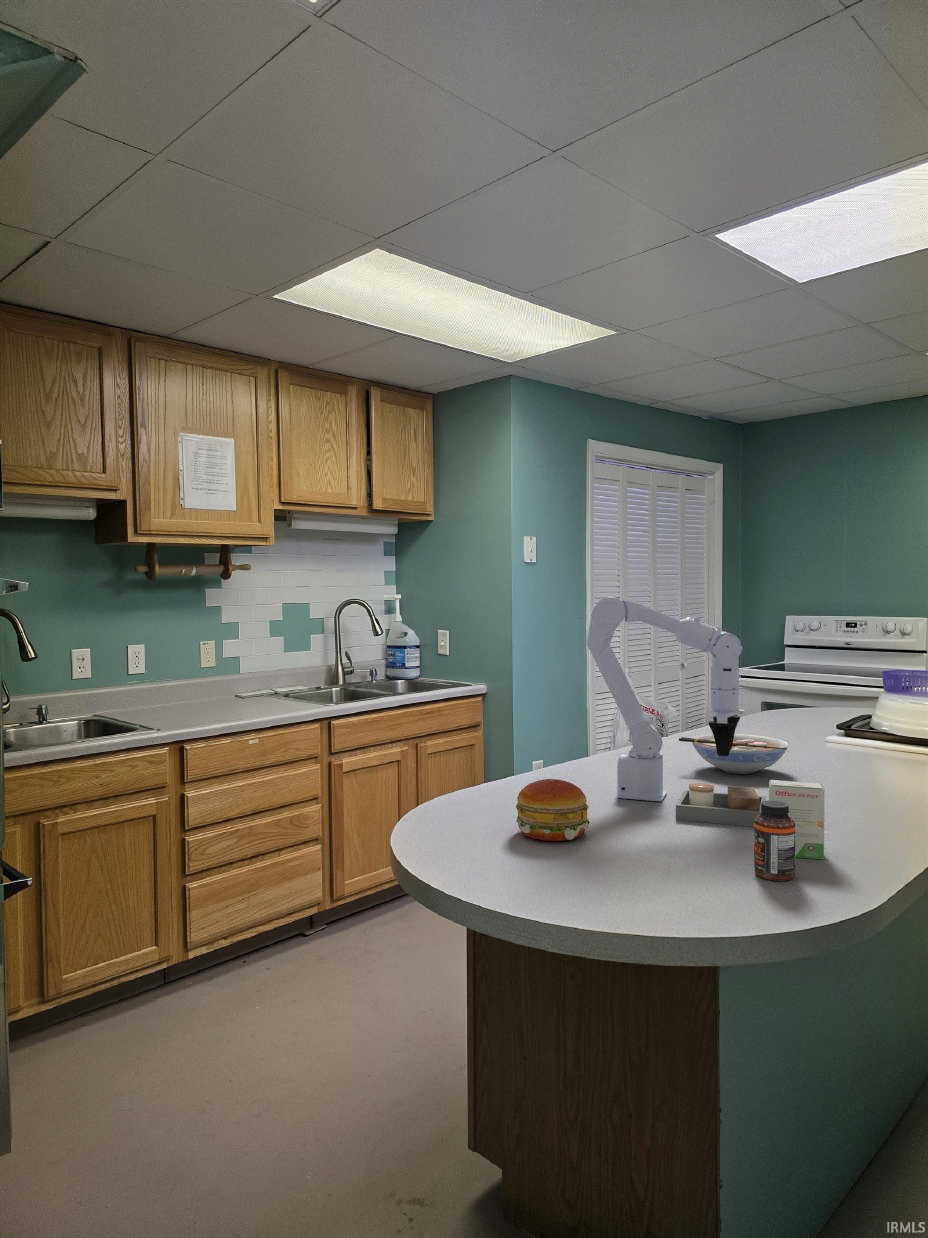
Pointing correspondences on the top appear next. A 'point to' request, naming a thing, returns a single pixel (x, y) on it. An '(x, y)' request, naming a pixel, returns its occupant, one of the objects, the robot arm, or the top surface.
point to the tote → (715, 811)
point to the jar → (701, 794)
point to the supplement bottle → (774, 842)
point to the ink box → (803, 814)
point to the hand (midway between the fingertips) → (724, 752)
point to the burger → (552, 810)
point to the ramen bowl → (740, 752)
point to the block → (743, 799)
